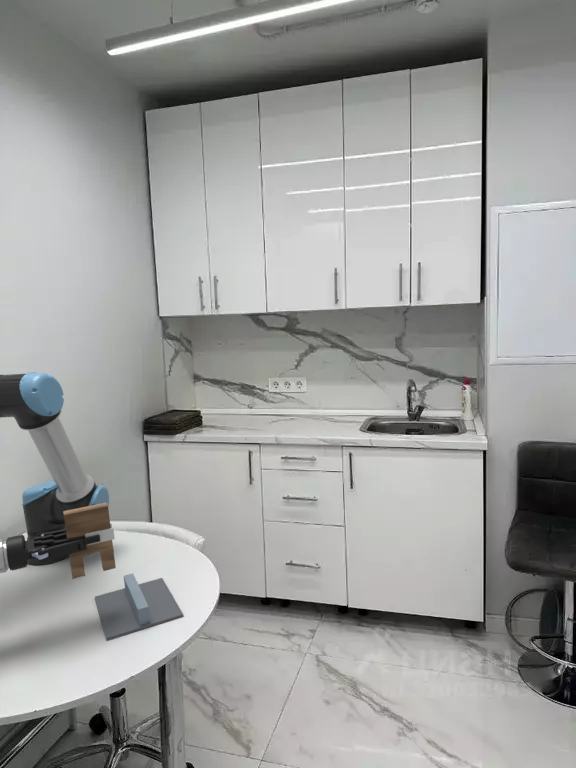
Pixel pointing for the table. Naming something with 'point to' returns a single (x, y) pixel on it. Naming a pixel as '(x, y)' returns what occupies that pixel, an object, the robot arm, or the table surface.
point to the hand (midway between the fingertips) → (112, 530)
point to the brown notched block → (88, 522)
